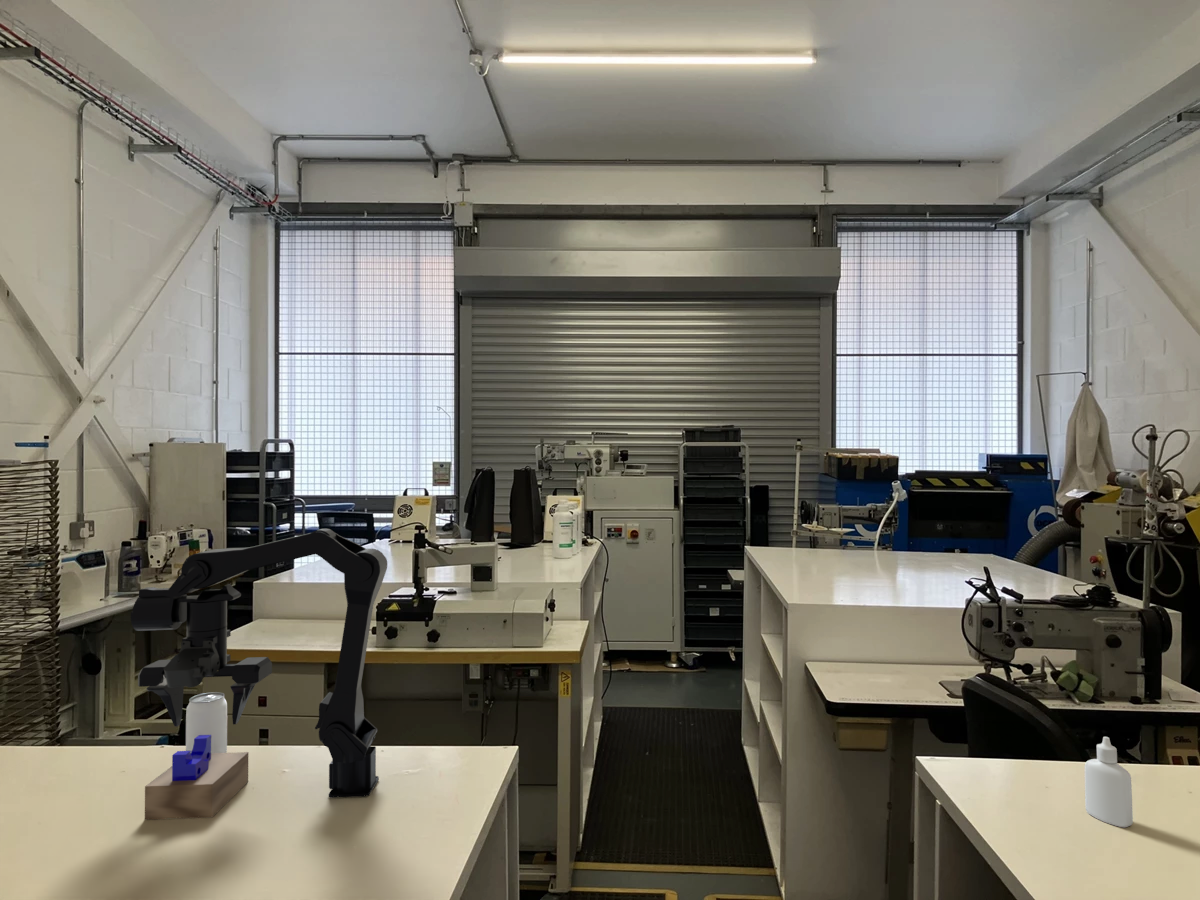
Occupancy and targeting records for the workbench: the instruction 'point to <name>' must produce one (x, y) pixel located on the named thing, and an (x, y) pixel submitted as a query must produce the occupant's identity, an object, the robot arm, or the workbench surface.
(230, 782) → the plate
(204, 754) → the cable holder
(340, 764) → the robot arm
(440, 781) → the workbench surface
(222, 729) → the can
